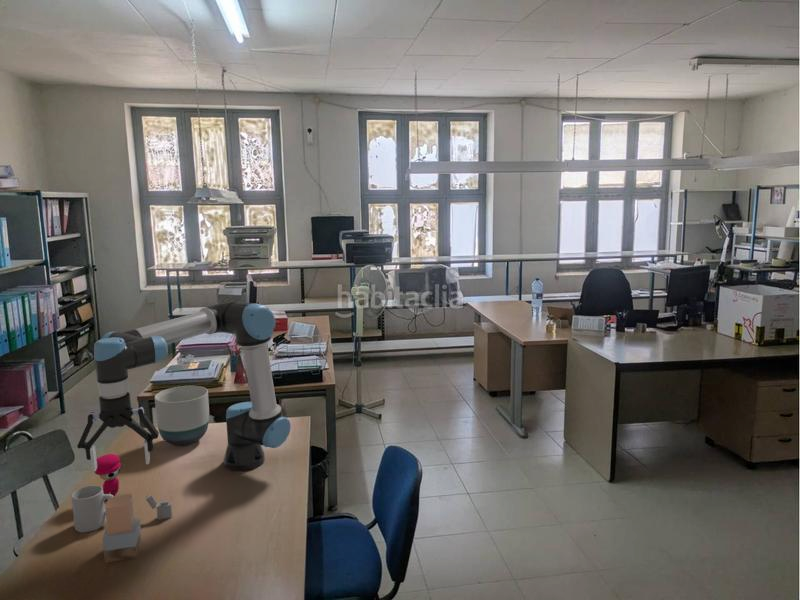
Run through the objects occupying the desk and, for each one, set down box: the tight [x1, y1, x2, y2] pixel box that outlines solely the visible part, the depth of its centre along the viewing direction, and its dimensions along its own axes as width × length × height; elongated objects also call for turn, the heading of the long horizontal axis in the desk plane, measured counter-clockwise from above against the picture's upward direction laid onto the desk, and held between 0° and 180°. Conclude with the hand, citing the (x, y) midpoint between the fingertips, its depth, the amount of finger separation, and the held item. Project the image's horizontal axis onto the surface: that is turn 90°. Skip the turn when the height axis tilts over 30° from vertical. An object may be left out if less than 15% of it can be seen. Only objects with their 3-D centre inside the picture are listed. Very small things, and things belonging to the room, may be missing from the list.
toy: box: [94, 453, 122, 496], centre depth 183 cm, size 8×8×15 cm
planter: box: [154, 385, 210, 447], centre depth 225 cm, size 20×20×21 cm
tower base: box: [103, 533, 142, 564], centre depth 155 cm, size 8×8×4 cm
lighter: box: [145, 494, 173, 520], centre depth 172 cm, size 7×2×8 cm, turn 106°
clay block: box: [105, 493, 135, 535], centre depth 153 cm, size 6×6×8 cm
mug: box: [71, 484, 115, 534], centre depth 168 cm, size 12×8×11 cm
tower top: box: [102, 517, 142, 552], centre depth 154 cm, size 8×8×4 cm
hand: (121, 465), depth 154 cm, fingers open, 13 cm apart
